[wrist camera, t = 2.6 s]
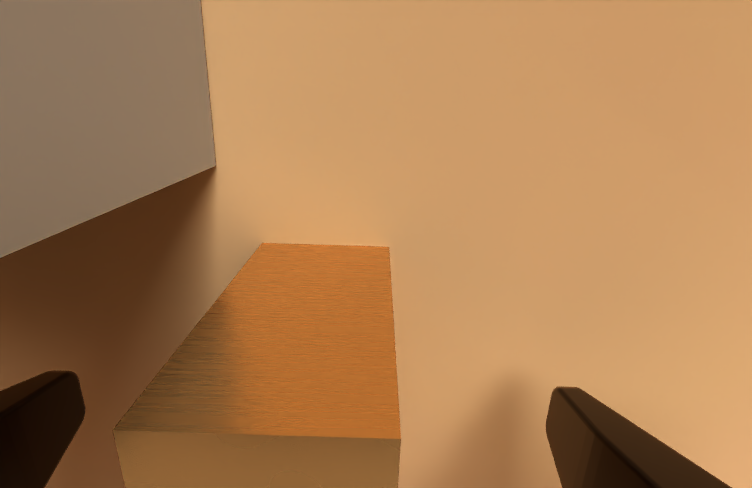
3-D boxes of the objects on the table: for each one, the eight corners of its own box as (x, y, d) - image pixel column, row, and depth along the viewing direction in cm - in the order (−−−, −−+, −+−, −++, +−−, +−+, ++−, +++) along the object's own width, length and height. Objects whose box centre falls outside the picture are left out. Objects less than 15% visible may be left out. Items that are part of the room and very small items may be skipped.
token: (380, 445, 10) (381, 754, 5) (274, 442, 10) (182, 747, 5) (389, 246, 8) (401, 439, 4) (262, 242, 8) (112, 431, 4)
